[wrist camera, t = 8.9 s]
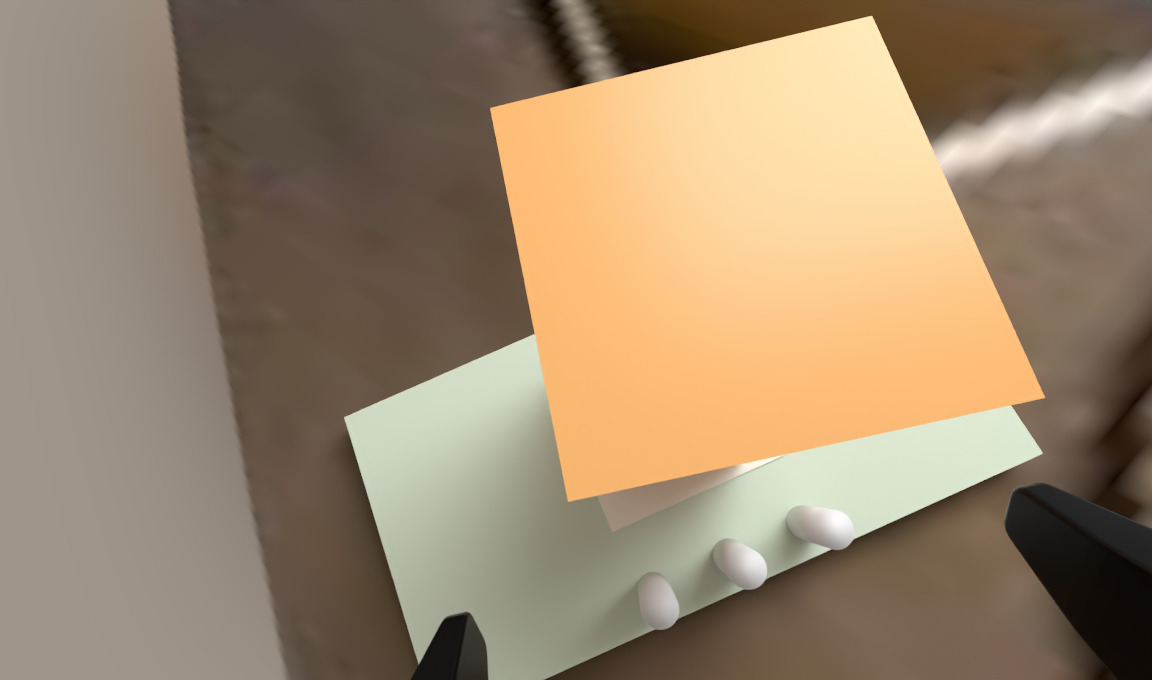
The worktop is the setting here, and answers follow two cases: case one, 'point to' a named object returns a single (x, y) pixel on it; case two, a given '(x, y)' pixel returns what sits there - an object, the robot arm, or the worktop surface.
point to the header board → (617, 514)
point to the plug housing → (746, 262)
